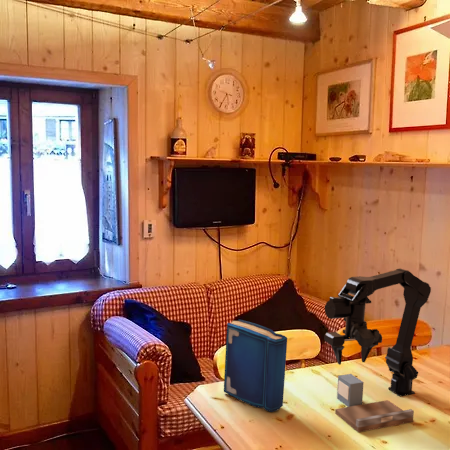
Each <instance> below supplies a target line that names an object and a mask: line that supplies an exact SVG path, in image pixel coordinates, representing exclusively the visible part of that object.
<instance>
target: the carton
mask: <svg viewBox="0 0 450 450" xmlns="http://www.w3.org/2000/svg"><path fill="white" fill-rule="evenodd" d="M364 383H365V382H364V381H362V379H359V378H358V377H357V376H355V375H353V374H352V373H348V374H341V375H337V389H336V390H337V391H336V399H337V400H338V401H339V402H341V403H342V404H343V405H345V407H350V406H356V405H362V404H363V397H364Z"/></svg>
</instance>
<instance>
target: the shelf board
mask: <svg viewBox="0 0 450 450" xmlns="http://www.w3.org/2000/svg"><path fill="white" fill-rule="evenodd" d="M334 413H335V415H337V416H338V417H339V418H340V419H341V420H342V421H343V422H345V423H346V424H347V425H349V427H351V428H352V429H353V430H354V431H356V432H357V433H362V432H366V431H372V430H377V429H382V428H387V427H393V426H397V425H404V424H409V423H413V422H414V413H415V412H414V410H413V409H411V408H410V409H409V408H408V409H405V410H403V409H402V408H401V407H399V406H398V405H396V404H394V403H393V402H391V401H390V400H388V399H385V400H380V401H375V402H369V403H362V405H356V406H350V407H347V406H345V407H338V408H335V411H334Z"/></svg>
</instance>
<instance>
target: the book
mask: <svg viewBox="0 0 450 450" xmlns="http://www.w3.org/2000/svg"><path fill="white" fill-rule="evenodd" d="M225 336H226V339H225V356H224V359H225V360H224V377H223V378H224V380H223V392H224V393H225V394H228V395H229V396H231V397H233V398H234V399H237V400H238V401H241V402H243V403H246V404H248V405H250V406H252V407H254V408H258V409H259V408H260V409H264V410H265V411H266V412H270V413H273V412H277V411H279V410H280V409H281V408H282V407H283V406H284V393H285V392H284V391H285V381H286V380H285V378H286V363H287V349H288V337H287V336H285V335H283V334H281V333H276V332H275V331H273V329H271V328H268V327H266V326H263V325H260V324H257V323H254V322H250V321H246V320H243V319H239V318H238V320H232V321H231V322H227V323H226V334H225Z"/></svg>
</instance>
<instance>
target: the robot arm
mask: <svg viewBox="0 0 450 450" xmlns="http://www.w3.org/2000/svg"><path fill="white" fill-rule="evenodd" d="M395 285H400V286H401V287H402V288H403V299H404V302H405V305H404V309H403V313H402V317H401V322H400V325H399V329H398V334H397V337H396V342H395V344H394V345H393V346H392V347H387V351H386V355H385V357H384V358H385V364H386V365H387V368H388V371H389V372H392V373H391V374H392V375H391V380H390V386H389V387H388V390H390V391H391V392H392V393H394V394H396V395H397V396H399V397H405V396H410V395H415V394H416V392H415V391H414V390H413V383H414V379H417V377H418V375H419V372H418V370H417V369H416V368H415V367H414V366H413V363H414V356H413V353H412V352H413V351H412V344H413V341H414V336H415V332H416V327H417V323H418V321H419V320H418V319H419V317H420V316H419V315H420V314H421V313H420V312H421V308H423V306H424V305H425V304H426V303H427V302H428V300H429V298H430V295H431V293H432V287H431V285H430V284H429V283H428V282H426V281H424V280H421V279H420V278H418V277H417V276H415V275H414V274H413V273H412V272H411V271H410V270H407V269H404V268H403V269H402V268H397V269H394V270H391V271H387V272H384V273H379V274H376V275H372V276H351V277H349V278H348V279H347V280H346V282H345V284H344V286H343V287H342V288H341V290H340V291H339V293H338V294H337V296H336V297H335V296H330V297H329V300H328V301H326V303H325V305H324V313H325V316H326V317H327V319H330V320H331V319H332V320H334V319H335V320H336V319H343V322H345V328H344V329H342V333H343V334H340V333H339V332H336V331H334V332H333V331H331V332H326V333H325V334H324V340H323V341H324V342H325V343H327V344H328V345H330V346H331V348H332V351H333V353H334V356H335V360H336V363H337V364H338V365H339V366H340V365H341V364H342V360H343V359H342V358H343V350H344V349H345V346H344V344H345V342H353V341H356V342H357V343H358V345H359V346H360V351H361V356H360V358H361V361H362V362H361V363H366V360H367V359H368V357H369V354H370V353H371V350H372V349H373V348H374V347H376V346H378V345H379V344H382V342H383V335H382V333H380V331H379V329H378V328H372V329H370V328H368V322H367V321H366V320H365V315H366V304H367V305H368V304H372V300H370V299H369V296H371V295H373V294H374V293H375V291H377V290H381V289H384V288H385V289H386V288H387V287H392V286H395Z"/></svg>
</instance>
